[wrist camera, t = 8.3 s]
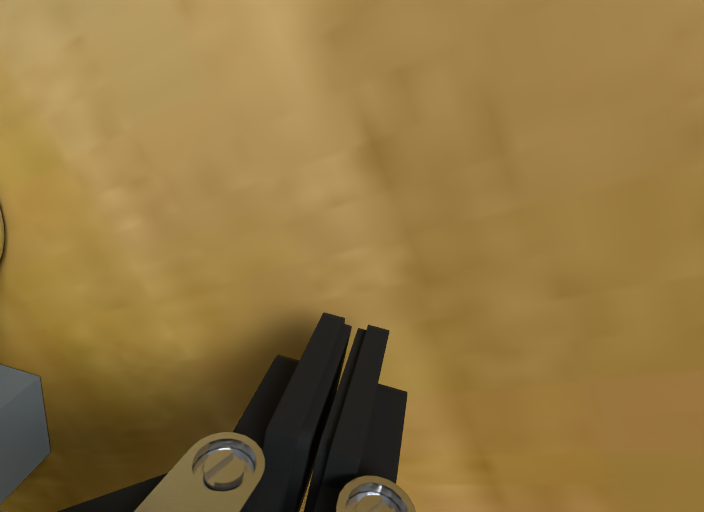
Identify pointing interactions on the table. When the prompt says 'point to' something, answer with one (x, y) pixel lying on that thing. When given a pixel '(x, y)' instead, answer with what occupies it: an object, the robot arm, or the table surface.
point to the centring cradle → (20, 428)
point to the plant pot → (1, 234)
